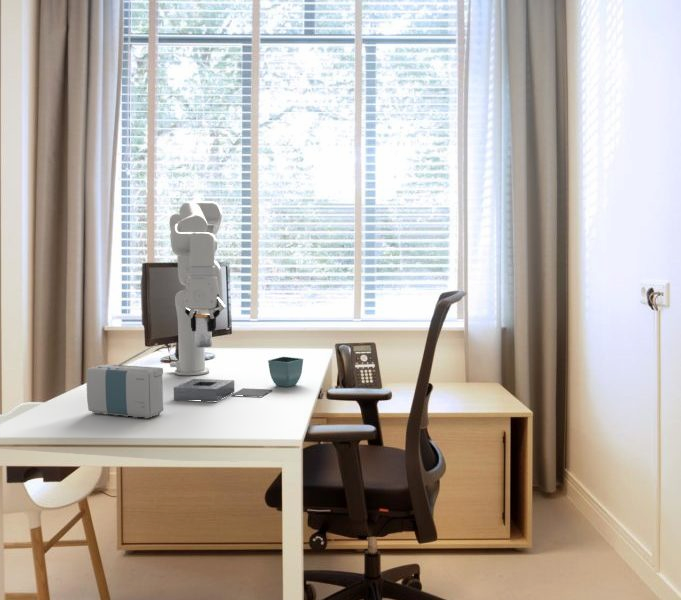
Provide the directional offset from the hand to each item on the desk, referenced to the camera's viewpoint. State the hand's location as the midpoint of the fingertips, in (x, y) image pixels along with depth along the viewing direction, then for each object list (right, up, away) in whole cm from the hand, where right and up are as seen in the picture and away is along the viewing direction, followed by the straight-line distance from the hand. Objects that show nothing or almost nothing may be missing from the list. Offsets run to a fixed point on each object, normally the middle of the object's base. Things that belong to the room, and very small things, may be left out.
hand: (203, 330), depth 194 cm
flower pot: (+24, -20, +17) cm, 36 cm away
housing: (0, -21, +1) cm, 21 cm away
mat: (+14, -20, +5) cm, 26 cm away
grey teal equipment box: (-17, -23, -21) cm, 35 cm away
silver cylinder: (0, -5, 0) cm, 5 cm away
